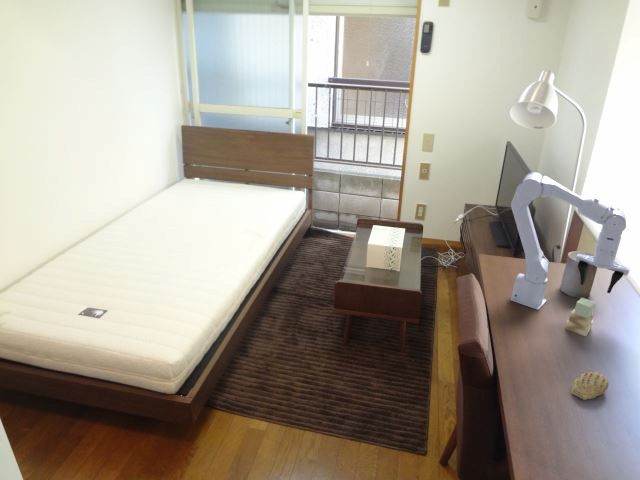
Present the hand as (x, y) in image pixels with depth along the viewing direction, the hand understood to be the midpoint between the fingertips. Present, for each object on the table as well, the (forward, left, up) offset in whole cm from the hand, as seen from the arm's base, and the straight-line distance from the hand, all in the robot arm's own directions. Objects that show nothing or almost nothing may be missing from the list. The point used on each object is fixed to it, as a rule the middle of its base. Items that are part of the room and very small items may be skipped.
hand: (595, 287), depth 153 cm
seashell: (+10, -39, -11) cm, 42 cm away
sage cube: (0, -10, -5) cm, 11 cm away
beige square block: (0, -10, -8) cm, 13 cm away
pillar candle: (-8, +14, -11) cm, 19 cm away
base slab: (0, -10, -11) cm, 15 cm away
